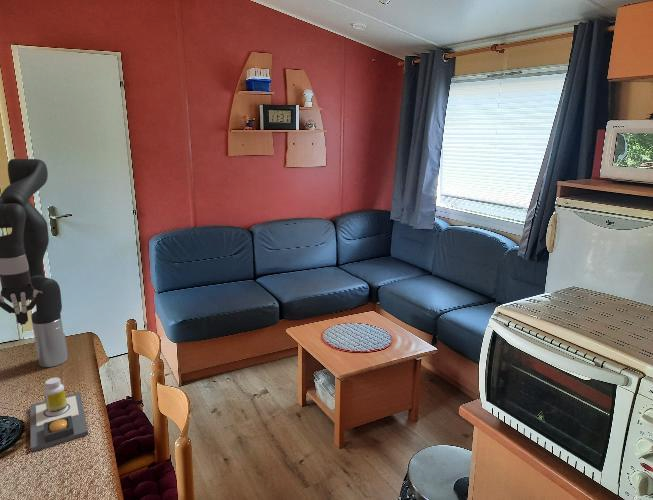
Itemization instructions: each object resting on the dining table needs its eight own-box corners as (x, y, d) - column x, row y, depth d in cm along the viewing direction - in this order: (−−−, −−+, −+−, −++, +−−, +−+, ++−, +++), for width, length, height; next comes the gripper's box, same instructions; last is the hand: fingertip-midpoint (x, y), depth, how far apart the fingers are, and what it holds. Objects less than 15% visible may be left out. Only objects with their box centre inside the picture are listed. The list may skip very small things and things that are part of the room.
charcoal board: (30, 408, 146) (29, 399, 145) (80, 395, 153) (79, 386, 152) (31, 451, 126) (29, 441, 125) (88, 434, 133) (87, 424, 132)
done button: (49, 428, 133) (48, 422, 133) (67, 423, 136) (66, 417, 135) (50, 437, 130) (49, 430, 129) (68, 431, 132) (67, 425, 131)
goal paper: (35, 406, 145) (35, 405, 144) (75, 396, 150) (75, 395, 150) (36, 426, 135) (36, 425, 135) (78, 414, 140) (78, 413, 140)
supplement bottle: (71, 406, 144) (66, 378, 142) (55, 416, 139) (50, 386, 137) (59, 402, 146) (54, 374, 144) (43, 412, 141) (37, 383, 139)
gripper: (-15, 276, 132) (-4, 332, 136) (40, 269, 139) (48, 323, 143) (-13, 270, 138) (-2, 324, 143) (39, 263, 145) (47, 315, 149)
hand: (23, 323), depth 143 cm, fingers closed
